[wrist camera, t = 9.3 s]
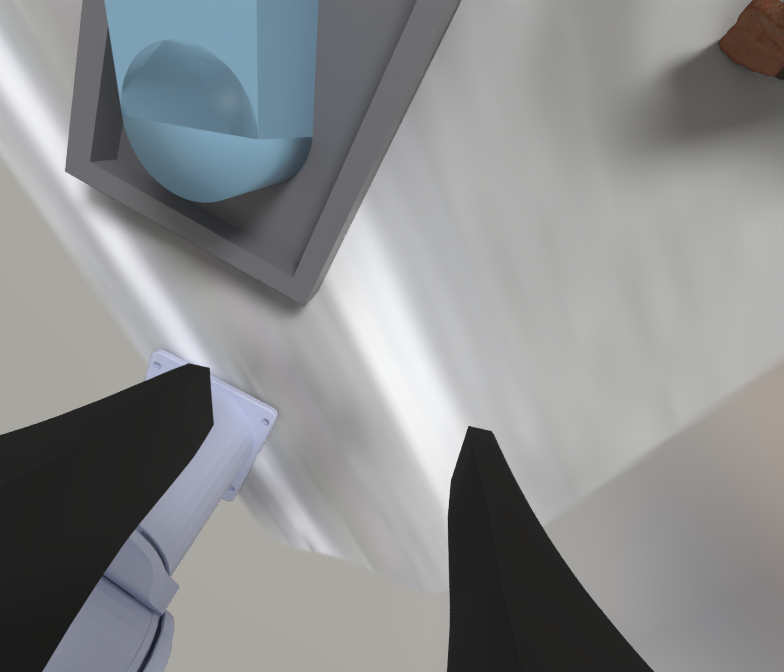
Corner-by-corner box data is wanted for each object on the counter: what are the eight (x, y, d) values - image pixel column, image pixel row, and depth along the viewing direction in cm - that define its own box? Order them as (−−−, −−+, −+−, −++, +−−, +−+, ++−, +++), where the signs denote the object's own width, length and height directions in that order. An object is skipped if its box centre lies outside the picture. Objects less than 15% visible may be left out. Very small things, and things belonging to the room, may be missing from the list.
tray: (318, 290, 20) (304, 306, 18) (101, 167, 19) (64, 171, 17) (508, -96, 13) (515, -131, 11) (176, -335, 12) (126, -418, 10)
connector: (309, 192, 18) (258, 213, 13) (214, 174, 18) (133, 190, 13) (324, -124, 13) (253, -256, 8) (195, -141, 13) (61, -276, 9)
